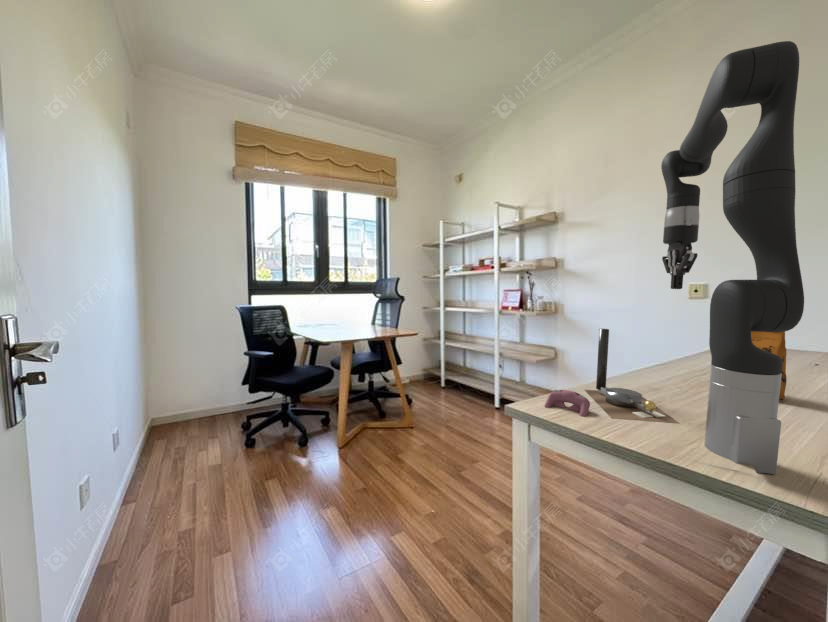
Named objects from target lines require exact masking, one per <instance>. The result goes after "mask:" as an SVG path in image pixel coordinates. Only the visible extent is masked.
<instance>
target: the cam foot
mask: <svg viewBox="0 0 828 622" xmlns="http://www.w3.org/2000/svg"><path fill="white" fill-rule="evenodd" d="M598 330H599V331H598V348H597V362H596V363H597V368H596V385H595V390H598V392H599V393H601V394H603V395H605V400H606V401H607V402H609V403H611V404H614V405H617V406H622V407H630V408H636V407H638V408H640V409H642V410H644V411H647V412H649V413H653V411H654V410H655V409H656V407H657V404H656V403H655V402H654V401H652V400H648V401H646V402H645V403H644V405H643V404H642V397H643V394H642V393H641V392H638V391H636V390H633V389H629V388H623V387H607V376H608V374H607V372H608V359H609V357H608V356H609V342H610V341H609V339H610V329H609V328H599V329H598Z"/></svg>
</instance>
